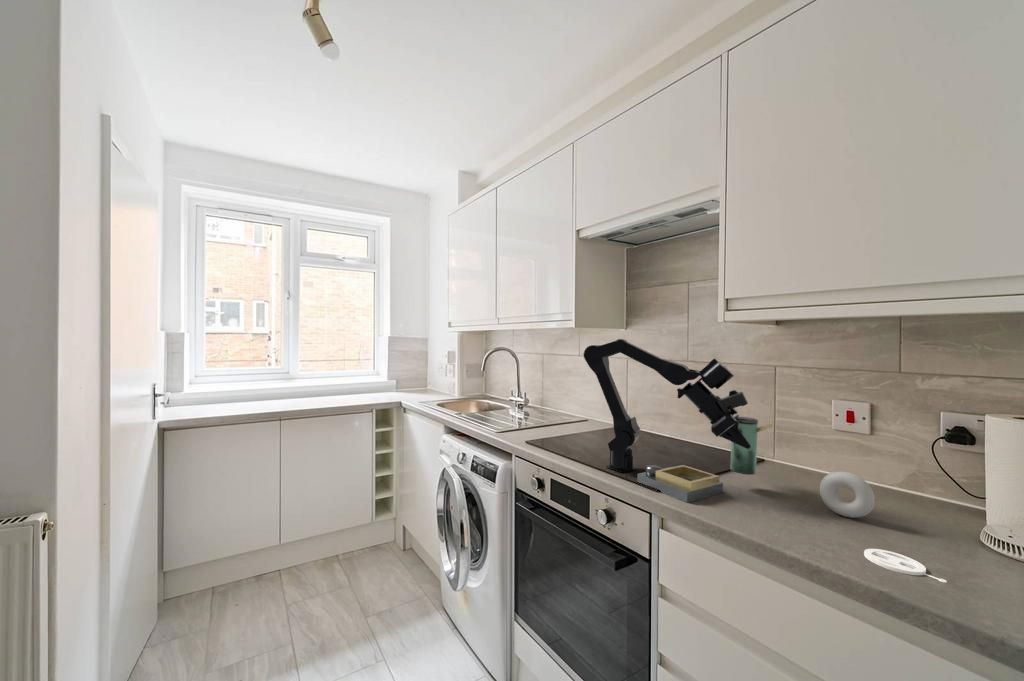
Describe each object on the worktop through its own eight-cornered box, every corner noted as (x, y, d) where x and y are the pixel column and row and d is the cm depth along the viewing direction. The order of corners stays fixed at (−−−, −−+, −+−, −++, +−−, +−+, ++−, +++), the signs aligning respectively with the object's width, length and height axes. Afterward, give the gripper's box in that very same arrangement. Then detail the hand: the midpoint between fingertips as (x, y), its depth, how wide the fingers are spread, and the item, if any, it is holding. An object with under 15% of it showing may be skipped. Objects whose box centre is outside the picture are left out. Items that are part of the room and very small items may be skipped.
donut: (876, 522, 92) (877, 476, 92) (872, 526, 89) (873, 479, 89) (821, 507, 99) (822, 465, 99) (817, 511, 97) (817, 468, 97)
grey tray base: (637, 482, 116) (637, 466, 116) (671, 475, 122) (671, 459, 122) (687, 502, 102) (687, 484, 102) (722, 492, 109) (722, 475, 109)
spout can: (729, 471, 111) (731, 419, 111) (730, 466, 116) (732, 415, 116) (771, 478, 106) (773, 423, 106) (770, 472, 112) (772, 419, 112)
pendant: (873, 549, 80) (873, 545, 80) (954, 577, 71) (954, 572, 71) (856, 558, 76) (856, 554, 76) (940, 590, 67) (940, 585, 67)
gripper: (726, 384, 106) (777, 433, 100) (729, 378, 122) (773, 420, 117) (692, 412, 110) (739, 460, 104) (699, 403, 126) (740, 444, 121)
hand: (749, 445), depth 111 cm, fingers closed on spout can, 6 cm apart
